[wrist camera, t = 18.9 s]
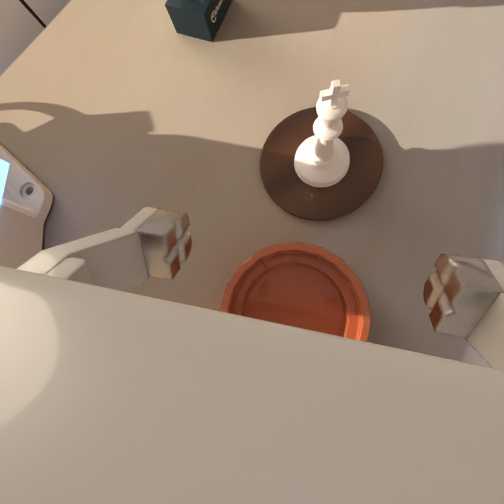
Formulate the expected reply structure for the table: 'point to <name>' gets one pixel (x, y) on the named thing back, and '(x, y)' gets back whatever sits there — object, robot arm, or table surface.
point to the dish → (300, 291)
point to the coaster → (320, 198)
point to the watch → (197, 16)
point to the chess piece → (325, 141)
